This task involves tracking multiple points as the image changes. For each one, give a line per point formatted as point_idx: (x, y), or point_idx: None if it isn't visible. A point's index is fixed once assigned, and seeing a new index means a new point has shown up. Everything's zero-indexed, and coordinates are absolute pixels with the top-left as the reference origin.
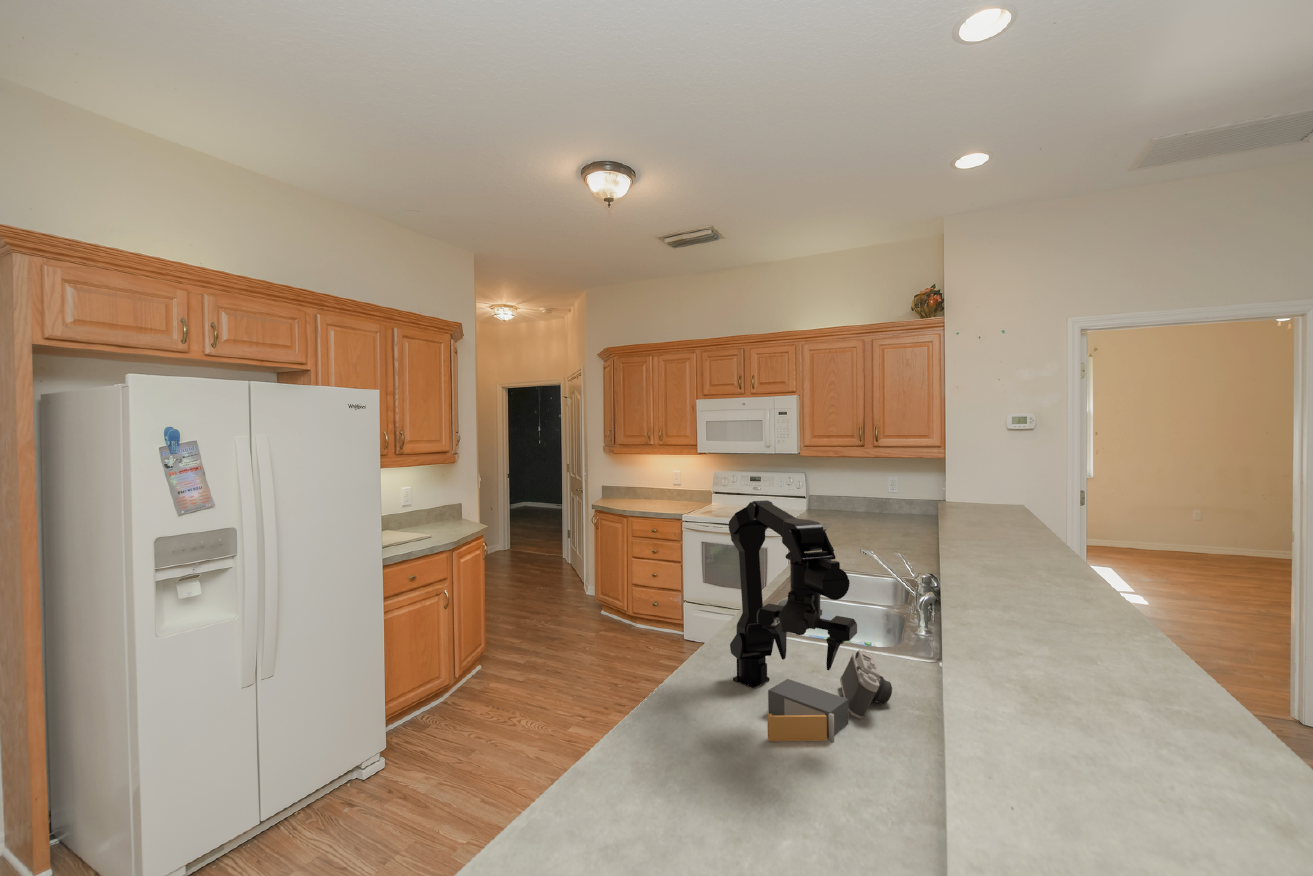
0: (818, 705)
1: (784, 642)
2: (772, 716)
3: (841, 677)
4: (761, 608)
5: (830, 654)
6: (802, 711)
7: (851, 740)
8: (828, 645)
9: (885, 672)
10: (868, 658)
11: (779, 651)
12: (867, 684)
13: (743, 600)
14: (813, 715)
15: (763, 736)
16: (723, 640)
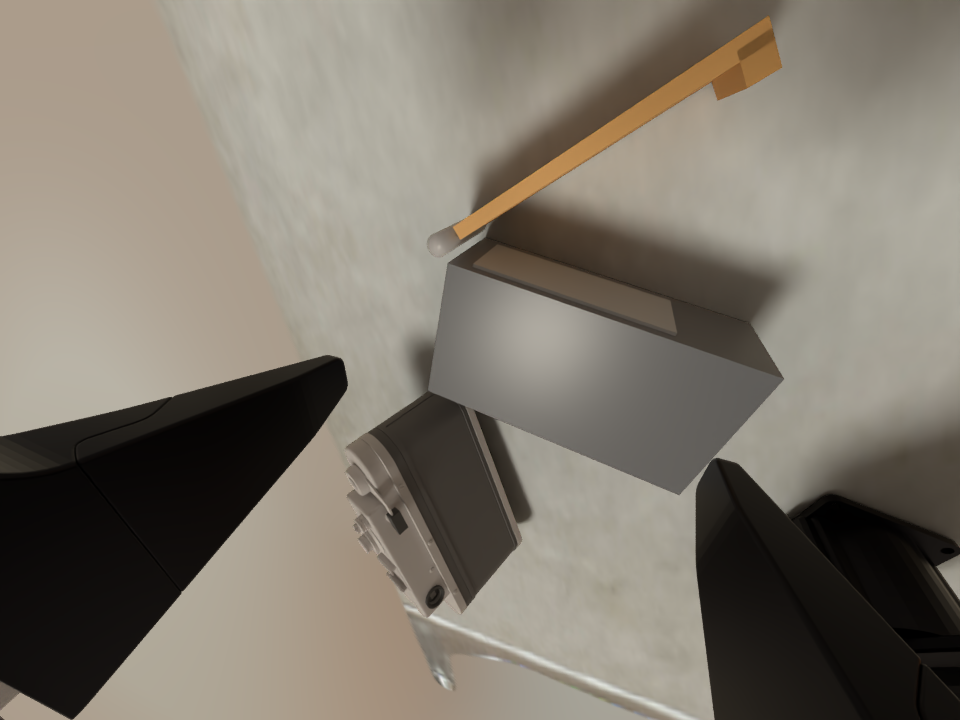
0: (504, 305)
1: (740, 668)
2: (738, 44)
3: (514, 541)
4: None
5: (169, 405)
6: (581, 289)
7: (428, 258)
8: (41, 469)
9: None
10: (395, 575)
11: (795, 532)
12: (365, 448)
13: None
14: (503, 207)
15: (767, 100)
16: None
